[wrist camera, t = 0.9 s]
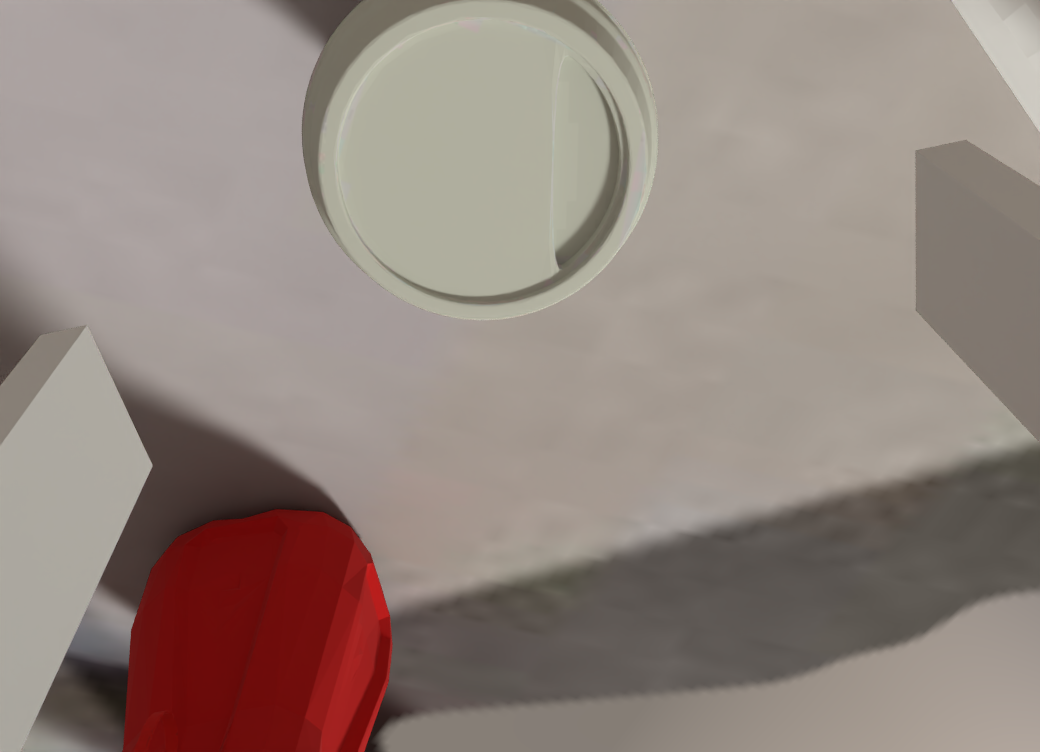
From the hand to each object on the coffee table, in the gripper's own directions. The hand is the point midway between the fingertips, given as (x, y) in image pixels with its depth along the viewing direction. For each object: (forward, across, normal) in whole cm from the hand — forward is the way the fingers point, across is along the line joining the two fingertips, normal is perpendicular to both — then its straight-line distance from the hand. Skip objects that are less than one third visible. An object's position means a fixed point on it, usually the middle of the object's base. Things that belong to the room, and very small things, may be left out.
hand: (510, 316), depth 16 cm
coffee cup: (+20, 0, 0) cm, 20 cm away
